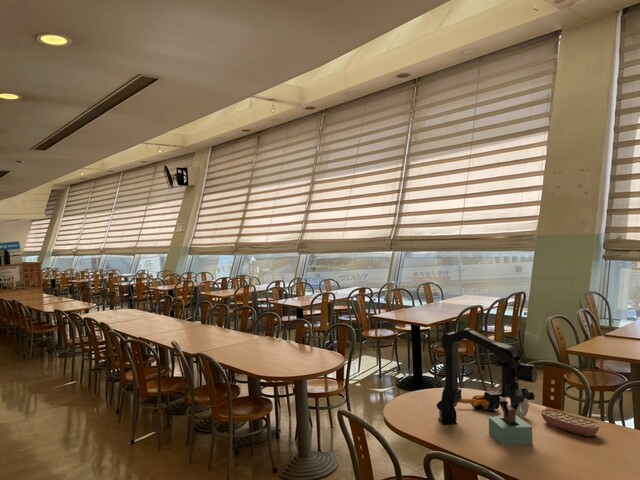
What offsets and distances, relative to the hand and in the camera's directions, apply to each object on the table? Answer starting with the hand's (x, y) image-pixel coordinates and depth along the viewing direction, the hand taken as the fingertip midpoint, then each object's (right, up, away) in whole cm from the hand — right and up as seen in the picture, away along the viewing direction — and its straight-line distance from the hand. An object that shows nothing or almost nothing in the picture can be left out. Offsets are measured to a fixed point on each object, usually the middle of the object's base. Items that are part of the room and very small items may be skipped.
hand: (509, 416), depth 188 cm
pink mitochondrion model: (+28, -9, +8) cm, 30 cm away
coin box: (0, -9, 0) cm, 9 cm away
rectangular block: (0, -1, 0) cm, 1 cm away
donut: (+13, -9, +20) cm, 26 cm away
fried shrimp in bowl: (-1, -9, +33) cm, 34 cm away
